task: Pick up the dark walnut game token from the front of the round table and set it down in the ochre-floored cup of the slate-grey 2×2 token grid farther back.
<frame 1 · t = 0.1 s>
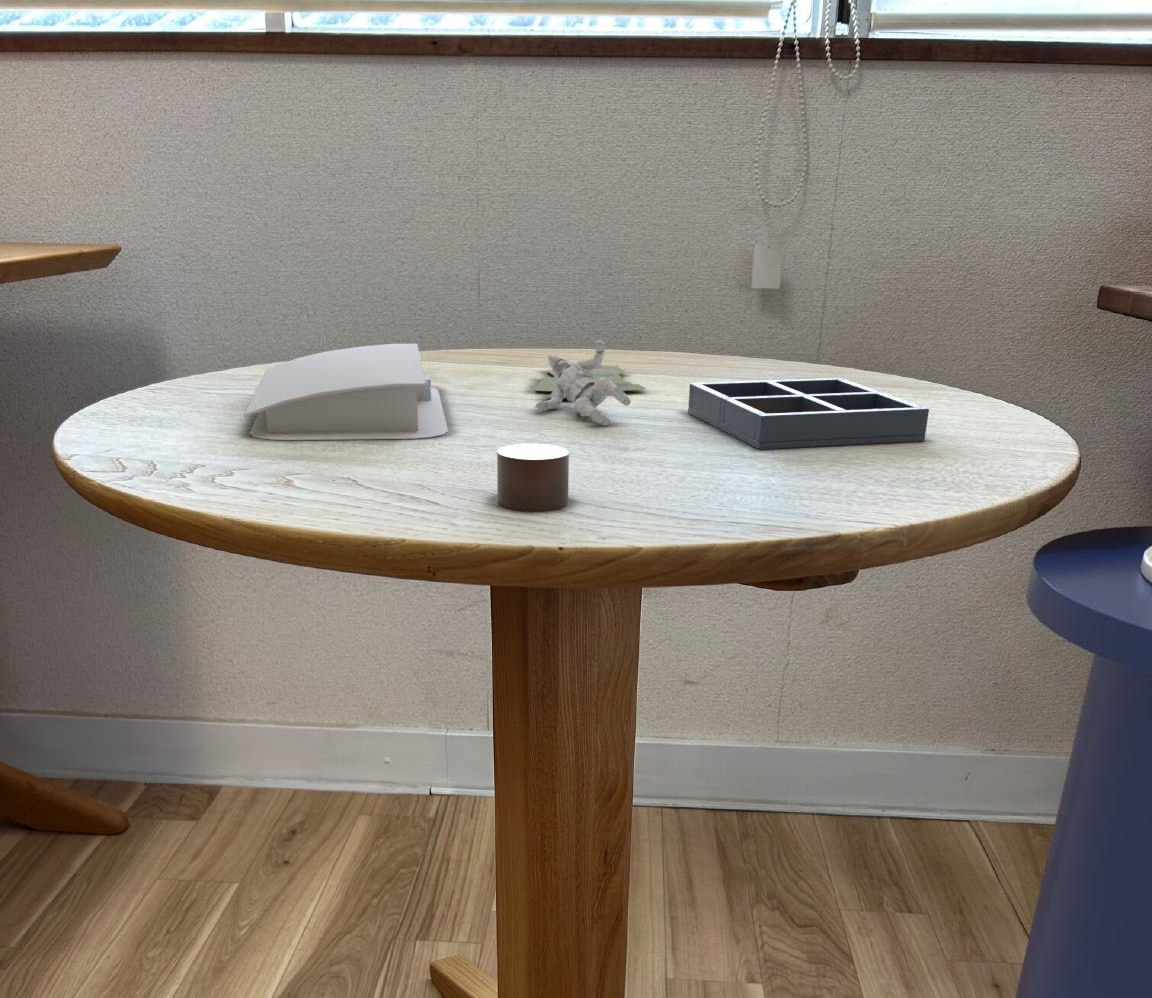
map: (592, 384, 117), on the table
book: (351, 412, 103), on the table
soldier figure: (583, 415, 104), on the table
grid: (801, 426, 101), on the table
token: (532, 501, 78), on the table
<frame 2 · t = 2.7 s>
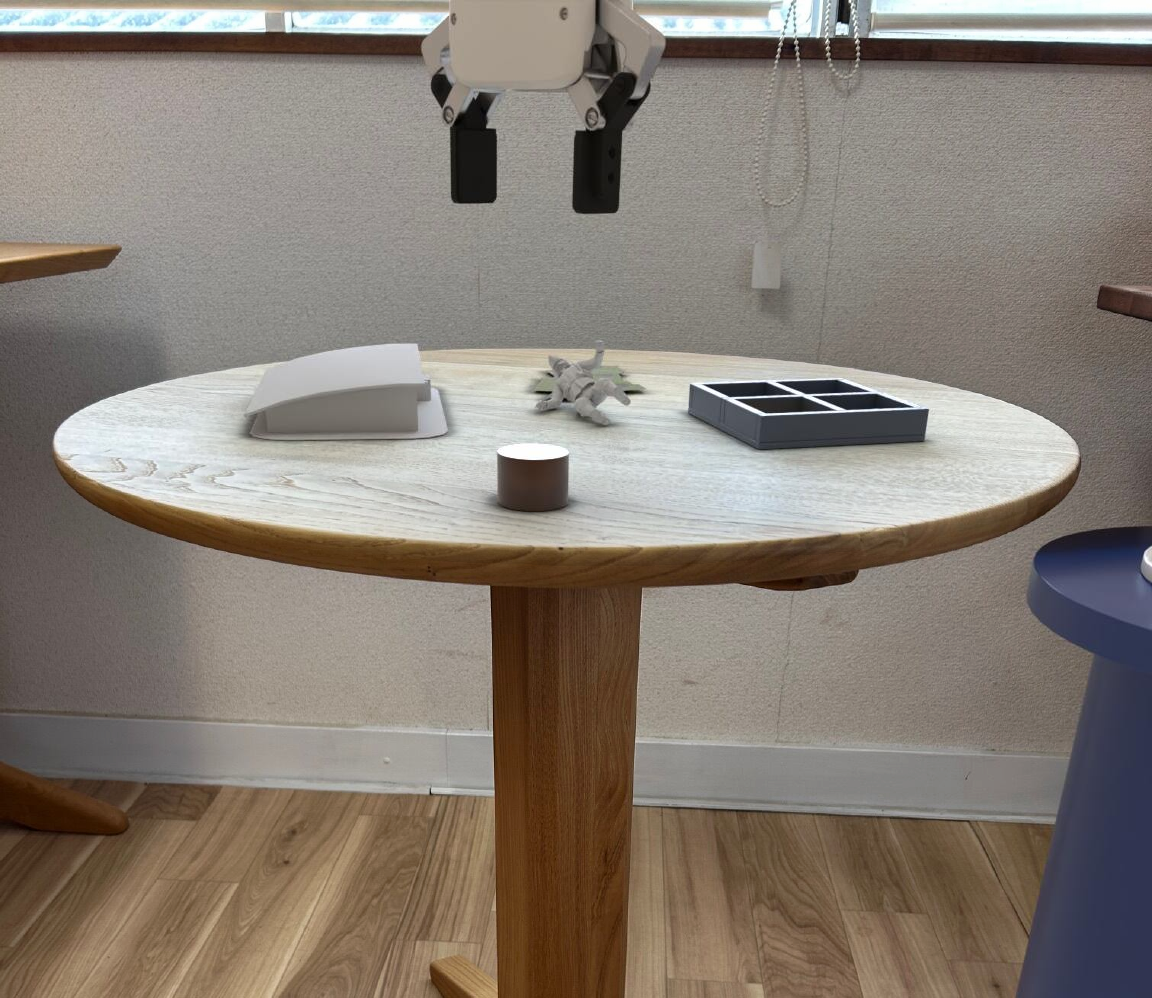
hand: (532, 207, 70), 17 cm above the table, tool pointing down, fingers open, 9 cm apart
nothing on the table moved.
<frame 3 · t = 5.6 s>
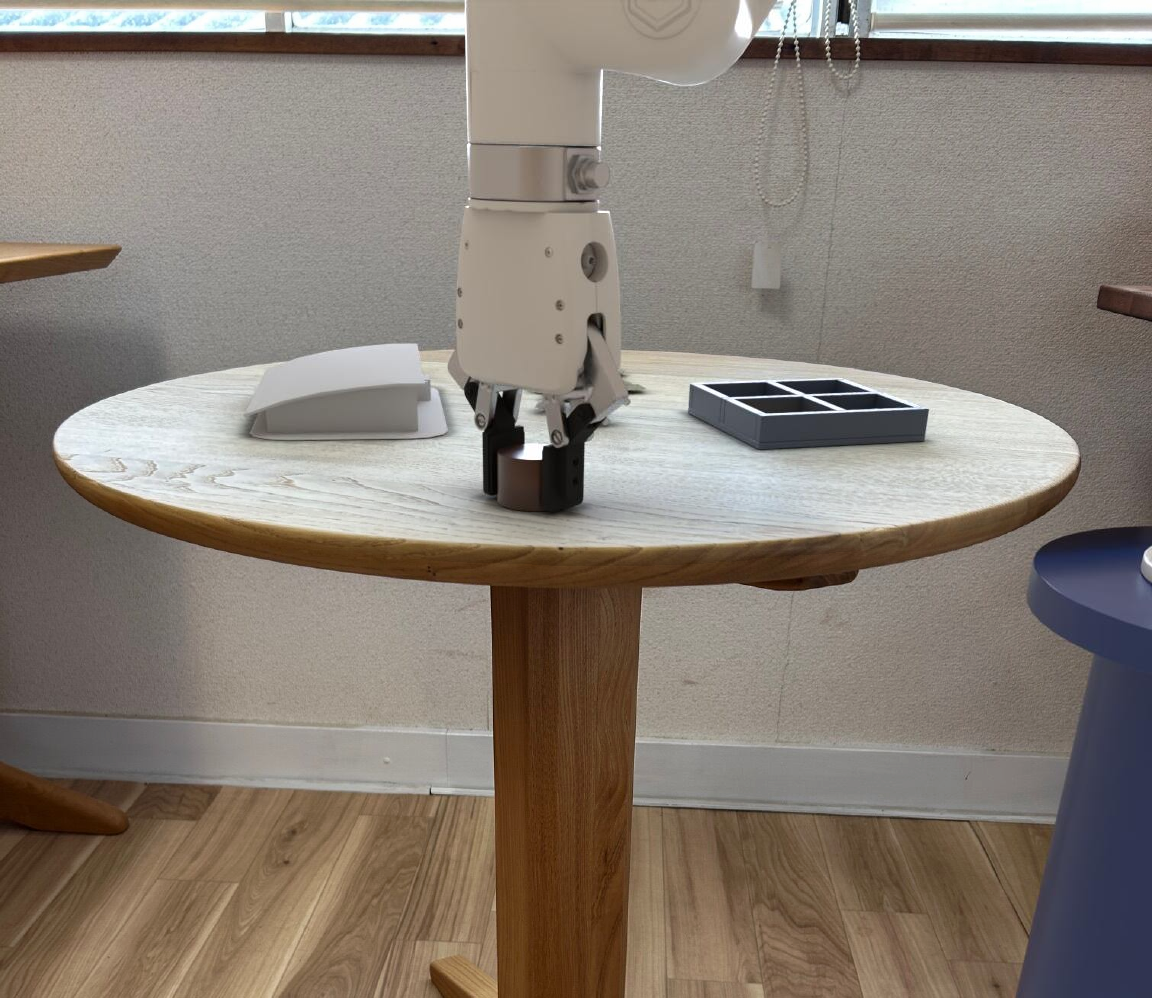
hand: (532, 496, 78), 0 cm above the table, tool pointing down, fingers closed on token, 4 cm apart
token: (532, 501, 78), on the table, touching gripper
everything else where it was.
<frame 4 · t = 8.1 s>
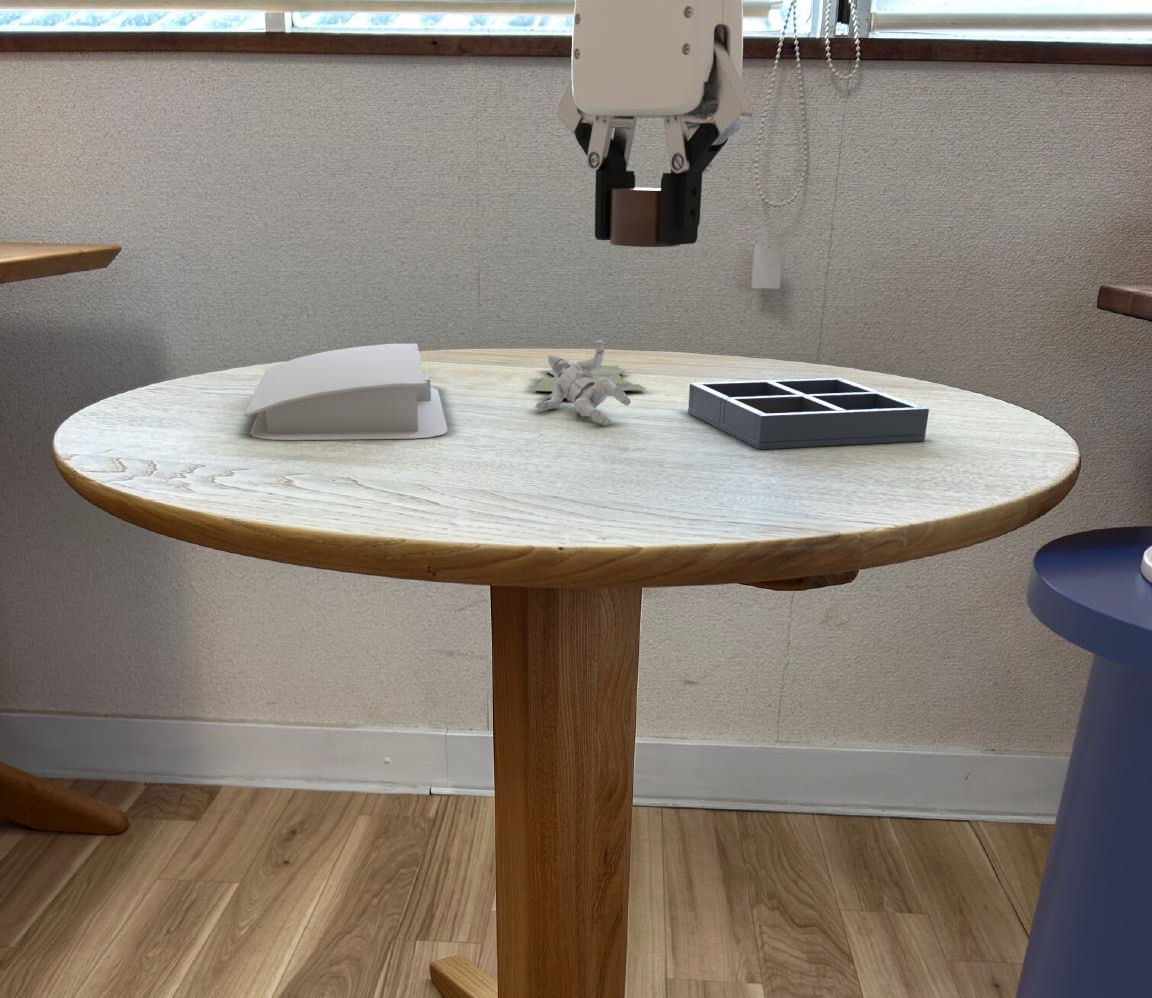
hand: (645, 238, 78), 15 cm above the table, tool pointing down, fingers closed on token, 4 cm apart
token: (644, 244, 78), point 15 cm above the table, touching gripper
everything else where it was.
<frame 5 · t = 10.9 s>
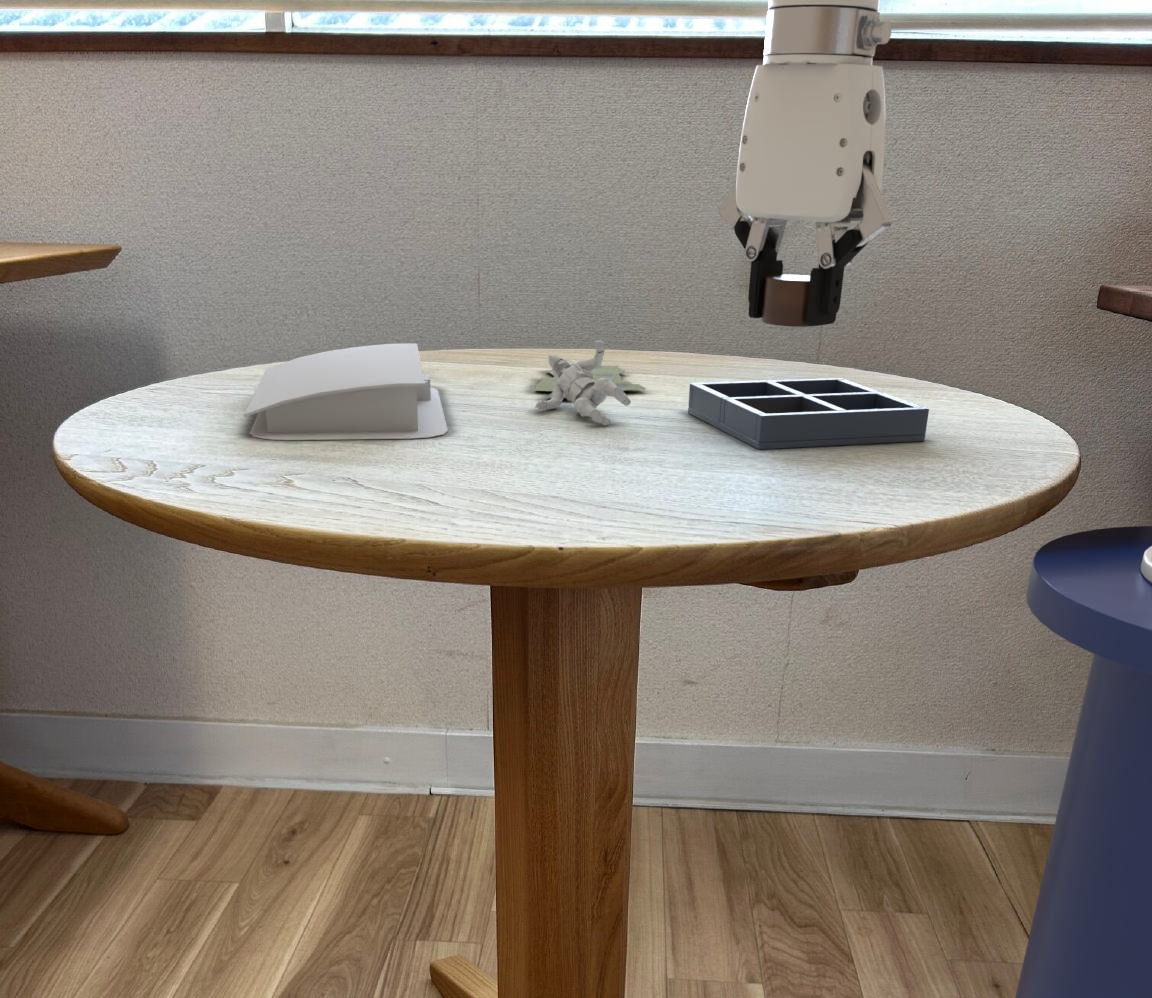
hand: (791, 317, 93), 9 cm above the table, tool pointing down, fingers closed on token, 4 cm apart
token: (791, 322, 93), point 9 cm above the table, touching gripper
everything else where it was.
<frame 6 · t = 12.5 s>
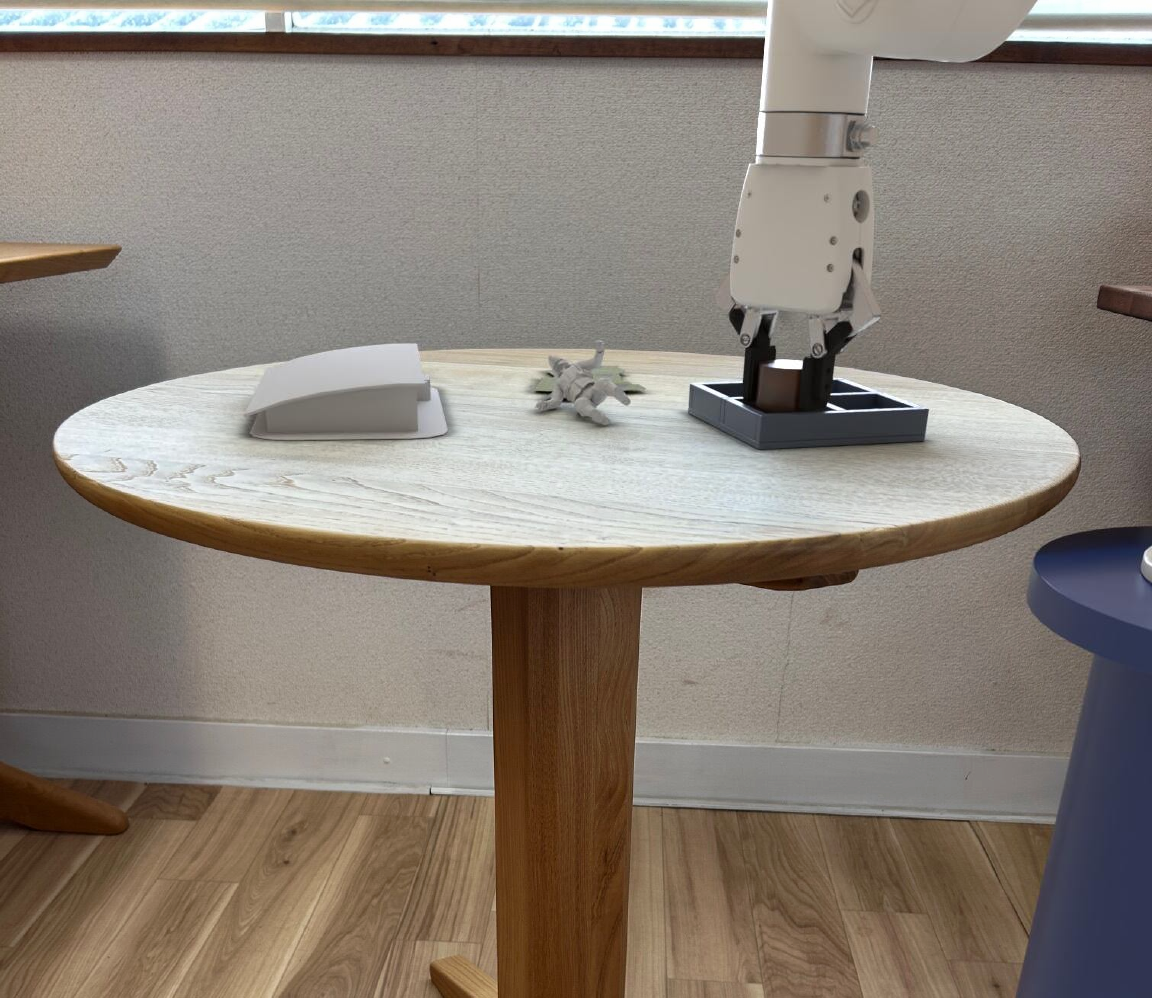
hand: (784, 401, 96), 3 cm above the table, tool pointing down, fingers closed on token, 4 cm apart
token: (784, 406, 96), point 2 cm above the table, touching gripper
everything else where it was.
when the fingers open (3 cm above the table, at t = 16.2 s): token drops 2 cm, resting on grid.
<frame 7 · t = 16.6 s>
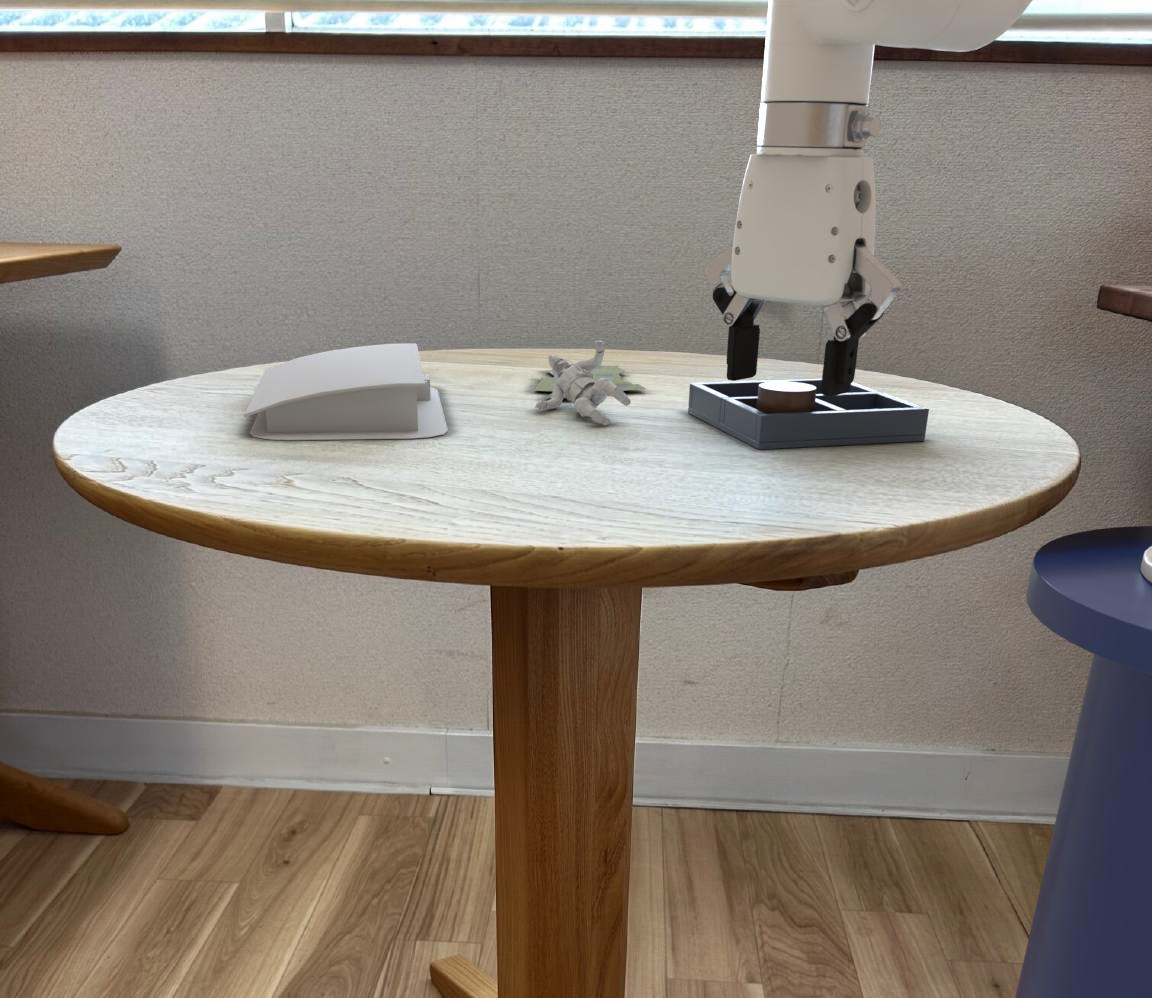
hand: (787, 384, 95), 4 cm above the table, tool pointing down, fingers open, 8 cm apart
token: (783, 428, 97), point 1 cm above the table, touching grid
everything else where it was.
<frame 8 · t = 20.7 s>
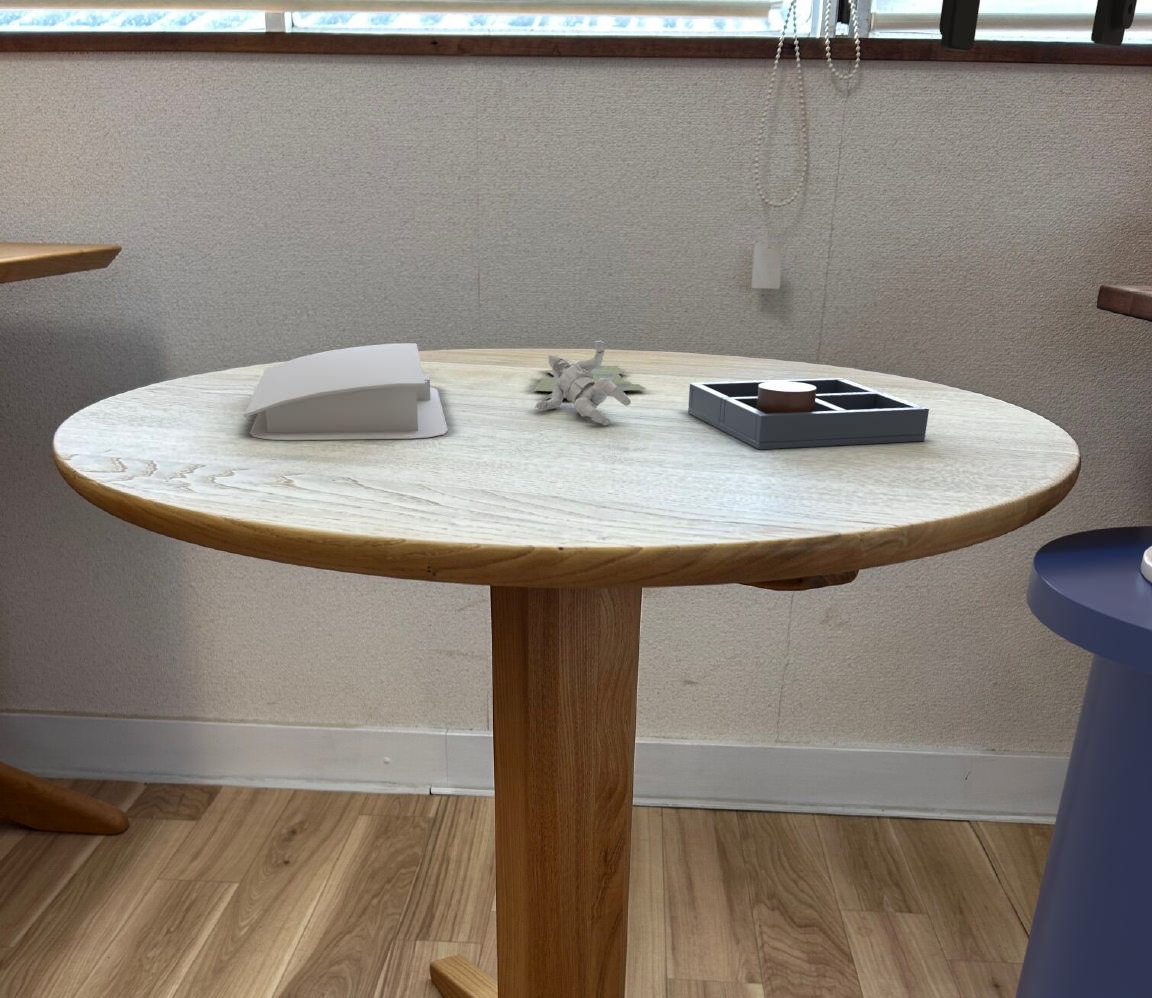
hand: (1028, 47, 76), 26 cm above the table, tool pointing down, fingers open, 9 cm apart
nothing on the table moved.
at the end: token 0.0 cm from the target spot in the grid, point 0.7 cm above the grid's base; token tilted 0°; the gripper is holding nothing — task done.
